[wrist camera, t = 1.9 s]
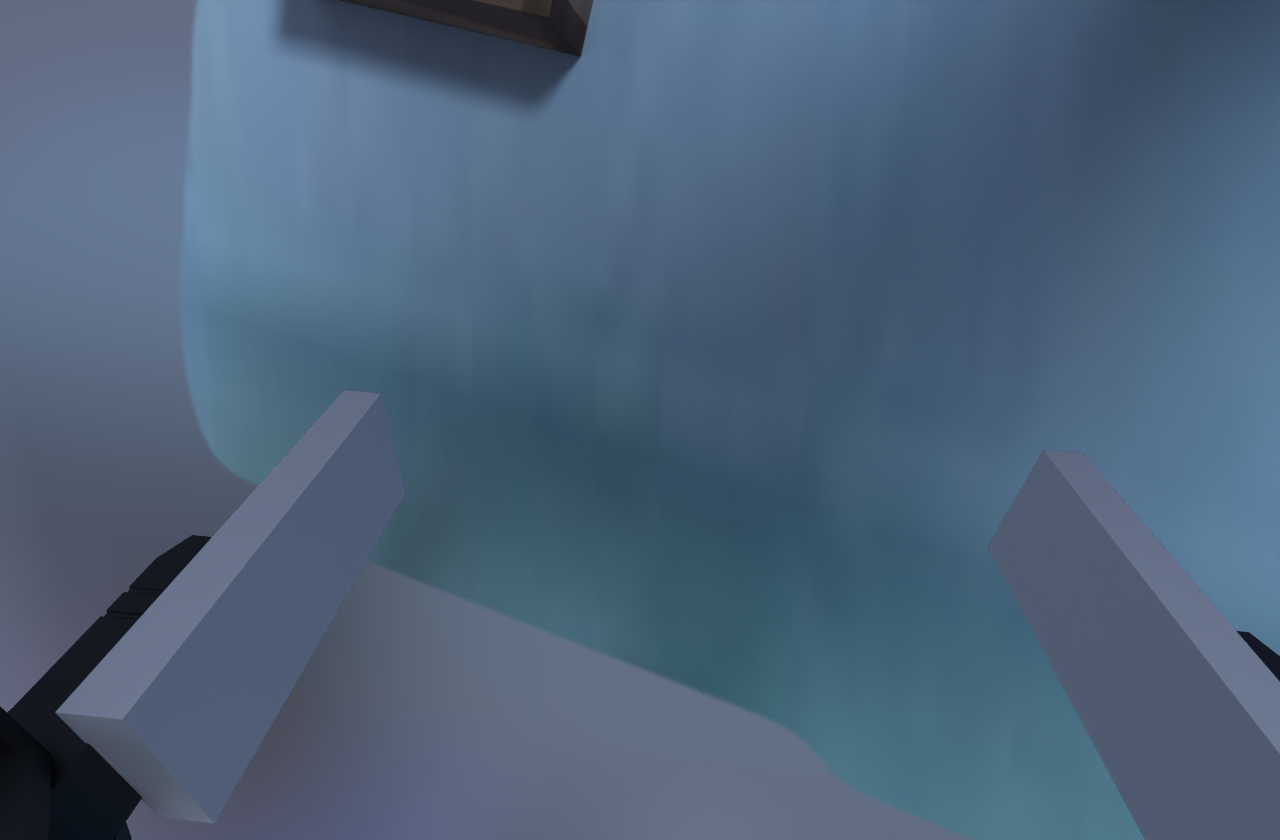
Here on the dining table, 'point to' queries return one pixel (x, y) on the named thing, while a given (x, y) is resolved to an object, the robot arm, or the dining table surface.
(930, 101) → the dining table surface
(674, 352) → the dining table surface
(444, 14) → the walnut channel
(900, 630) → the dining table surface
